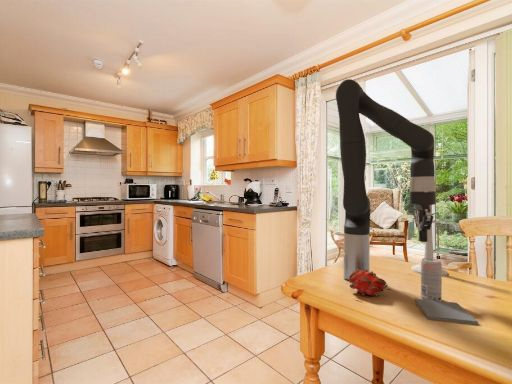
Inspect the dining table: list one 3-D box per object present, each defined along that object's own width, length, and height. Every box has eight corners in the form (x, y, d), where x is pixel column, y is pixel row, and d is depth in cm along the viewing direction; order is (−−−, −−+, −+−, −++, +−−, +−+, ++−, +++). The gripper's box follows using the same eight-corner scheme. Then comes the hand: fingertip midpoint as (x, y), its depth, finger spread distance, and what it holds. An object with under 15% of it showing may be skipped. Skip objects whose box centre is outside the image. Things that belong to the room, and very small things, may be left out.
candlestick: (404, 267, 119) (405, 199, 119) (433, 267, 120) (433, 199, 120) (424, 276, 106) (424, 200, 106) (455, 276, 107) (455, 200, 107)
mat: (428, 319, 70) (428, 316, 70) (414, 301, 82) (414, 298, 82) (478, 324, 67) (478, 321, 67) (456, 305, 79) (456, 302, 79)
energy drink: (438, 296, 85) (438, 258, 85) (444, 303, 80) (444, 263, 80) (419, 294, 87) (419, 257, 87) (423, 300, 82) (423, 261, 82)
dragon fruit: (345, 294, 91) (384, 305, 87) (346, 287, 84) (388, 298, 80) (349, 271, 95) (386, 280, 91) (350, 261, 89) (390, 271, 84)
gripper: (405, 190, 99) (405, 238, 99) (415, 190, 86) (416, 244, 86) (428, 190, 97) (428, 238, 97) (442, 190, 84) (443, 245, 84)
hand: (423, 241), depth 92 cm, fingers closed
